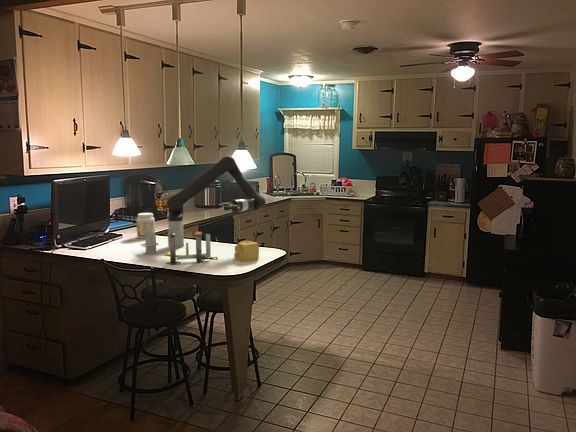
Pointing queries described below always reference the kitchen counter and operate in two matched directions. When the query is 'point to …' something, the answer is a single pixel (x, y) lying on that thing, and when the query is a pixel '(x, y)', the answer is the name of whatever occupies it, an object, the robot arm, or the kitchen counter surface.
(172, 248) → the hinge post
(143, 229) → the supplement tub
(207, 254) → the gate
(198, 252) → the latch post
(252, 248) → the cheese
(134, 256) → the kitchen counter surface
